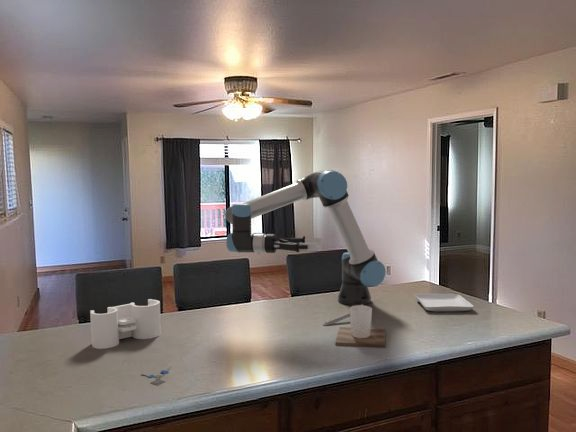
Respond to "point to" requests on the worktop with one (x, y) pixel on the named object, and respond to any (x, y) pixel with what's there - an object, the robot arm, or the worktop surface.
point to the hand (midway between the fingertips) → (319, 244)
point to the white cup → (360, 321)
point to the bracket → (125, 323)
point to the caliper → (337, 319)
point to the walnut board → (373, 341)
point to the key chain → (157, 381)
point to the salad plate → (443, 302)
